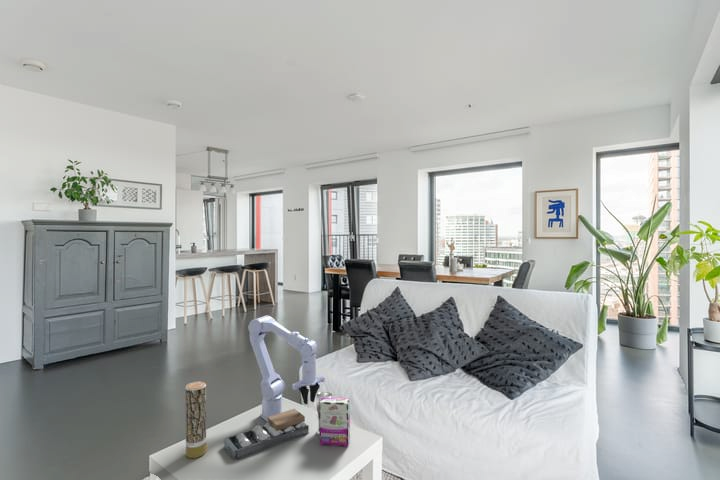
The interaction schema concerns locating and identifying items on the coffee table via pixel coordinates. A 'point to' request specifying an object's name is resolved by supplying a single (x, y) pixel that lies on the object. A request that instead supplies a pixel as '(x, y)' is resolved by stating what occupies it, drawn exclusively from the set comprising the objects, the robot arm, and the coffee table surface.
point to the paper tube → (195, 419)
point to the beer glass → (318, 399)
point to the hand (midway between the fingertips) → (308, 402)
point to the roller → (242, 441)
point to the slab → (286, 419)
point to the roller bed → (264, 438)
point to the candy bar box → (334, 421)
